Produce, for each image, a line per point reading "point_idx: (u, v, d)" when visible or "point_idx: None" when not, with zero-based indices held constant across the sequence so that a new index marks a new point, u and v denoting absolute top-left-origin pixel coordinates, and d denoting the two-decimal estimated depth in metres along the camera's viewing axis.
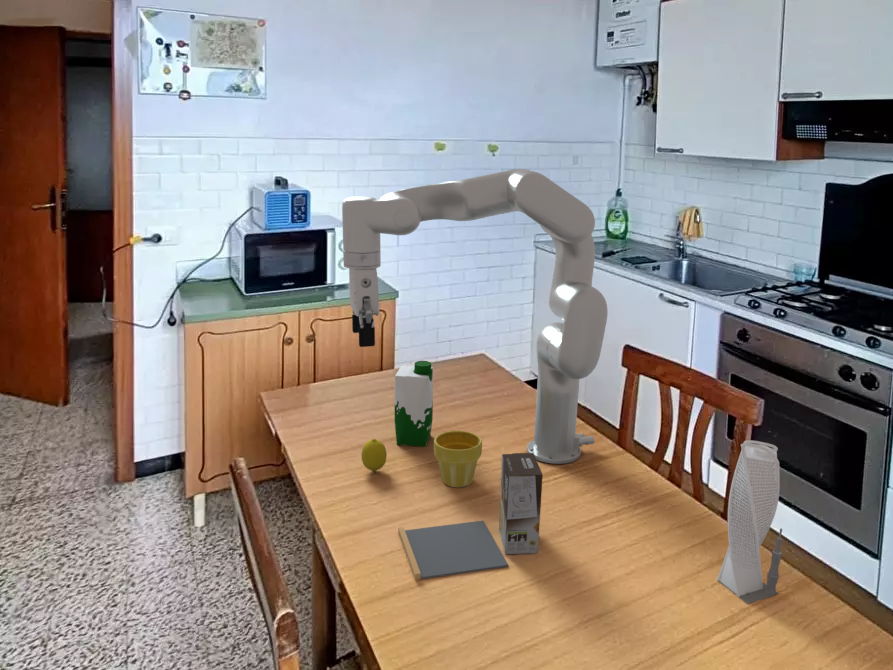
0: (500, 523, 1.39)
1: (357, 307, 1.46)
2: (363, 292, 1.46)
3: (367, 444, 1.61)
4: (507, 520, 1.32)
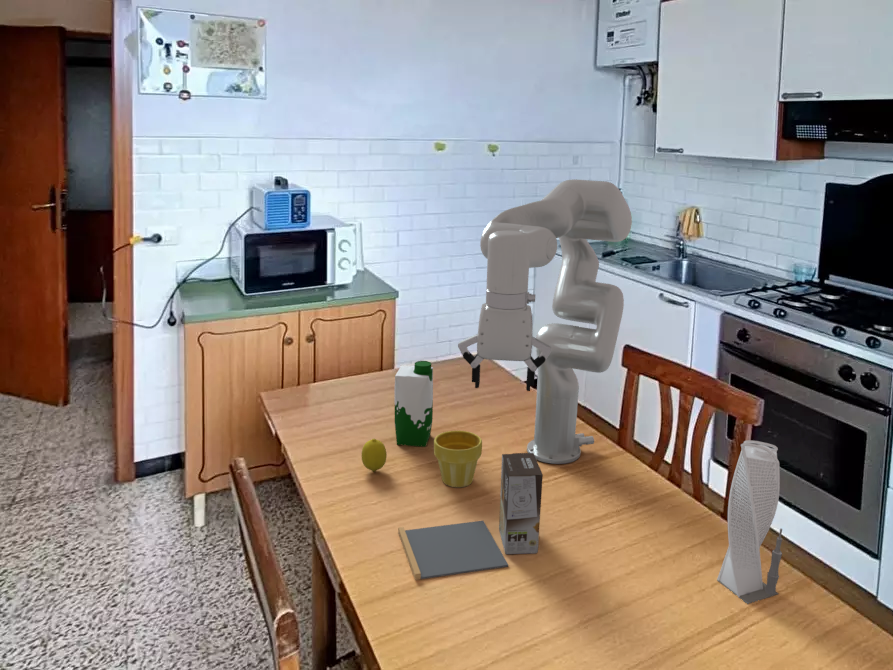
0: (500, 523, 1.39)
1: (530, 350, 1.34)
2: None
3: (367, 444, 1.61)
4: (507, 520, 1.32)
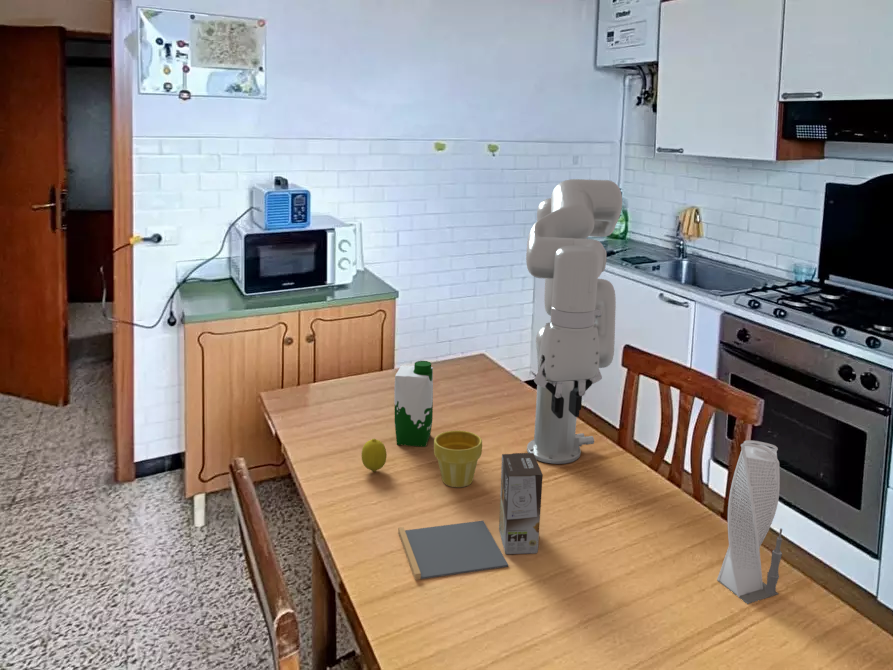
0: (500, 523, 1.39)
1: (598, 366, 1.30)
2: None
3: (367, 444, 1.61)
4: (507, 520, 1.32)
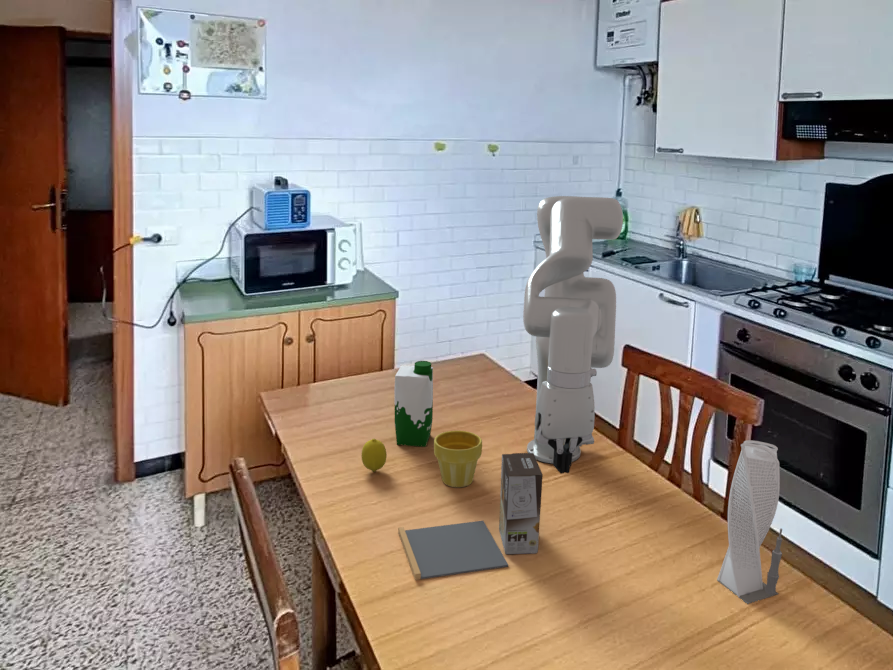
0: (500, 523, 1.39)
1: (593, 424, 1.33)
2: None
3: (367, 444, 1.61)
4: (507, 520, 1.32)
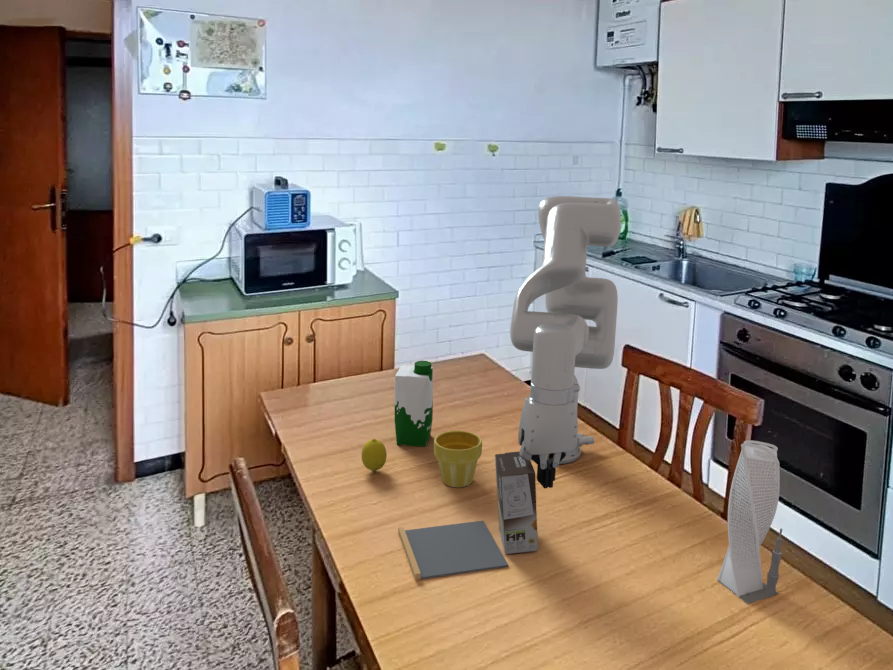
0: (499, 523, 1.39)
1: (577, 439, 1.33)
2: None
3: (367, 444, 1.61)
4: (504, 520, 1.32)
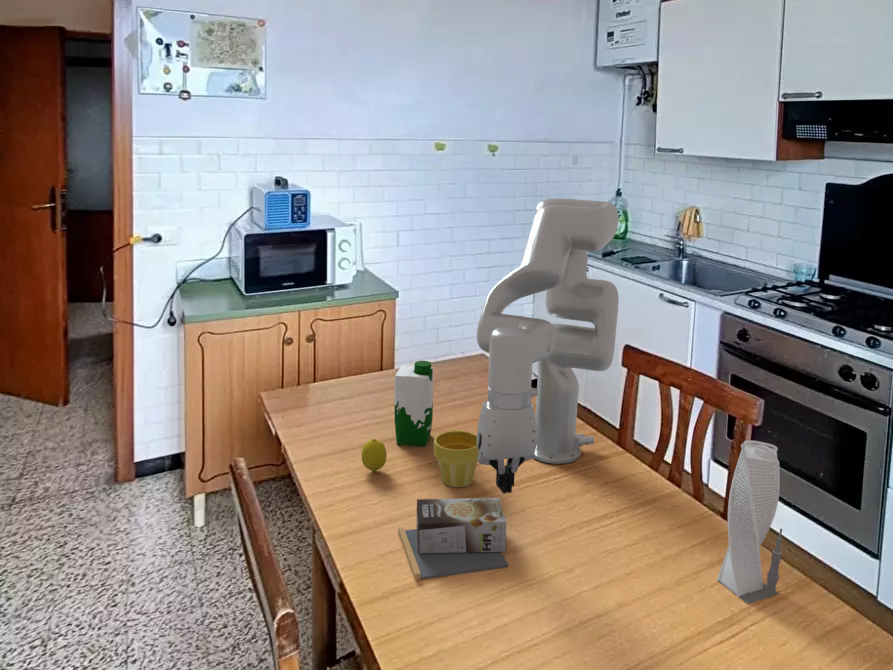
0: None
1: (535, 444, 1.31)
2: None
3: (367, 444, 1.61)
4: (467, 551, 1.33)
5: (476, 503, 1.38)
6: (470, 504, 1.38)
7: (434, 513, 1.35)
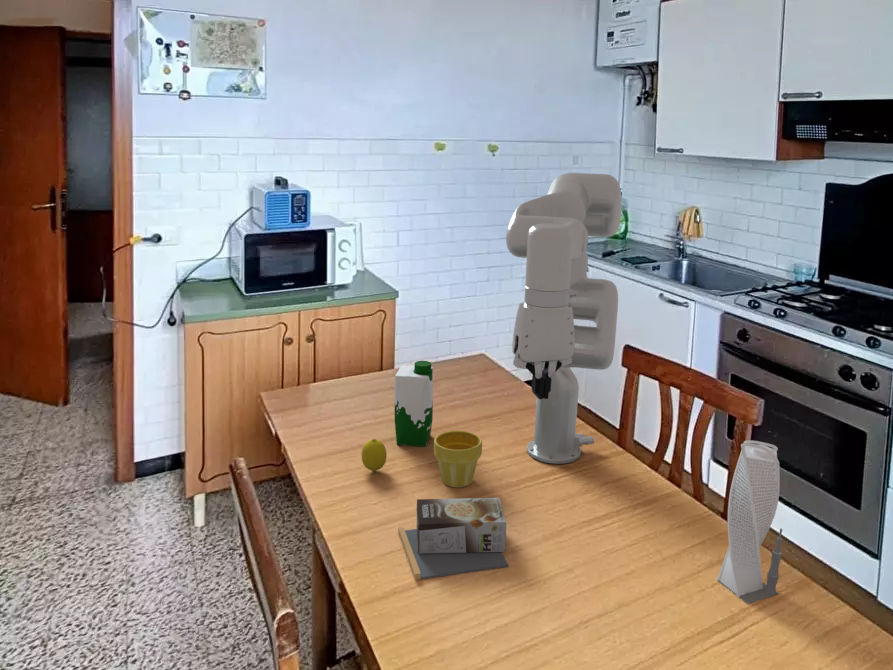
0: None
1: (573, 347, 1.28)
2: None
3: (367, 444, 1.61)
4: (467, 552, 1.33)
5: (476, 503, 1.38)
6: (470, 504, 1.38)
7: (434, 513, 1.34)
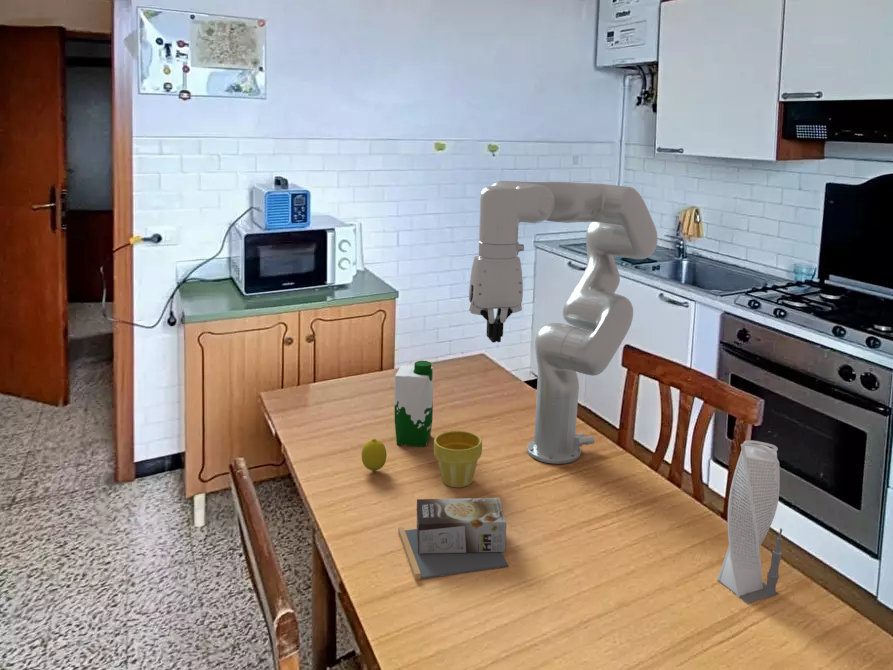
0: None
1: (522, 296, 1.45)
2: None
3: (367, 444, 1.61)
4: (467, 552, 1.33)
5: (476, 503, 1.38)
6: (470, 504, 1.38)
7: (434, 513, 1.34)
